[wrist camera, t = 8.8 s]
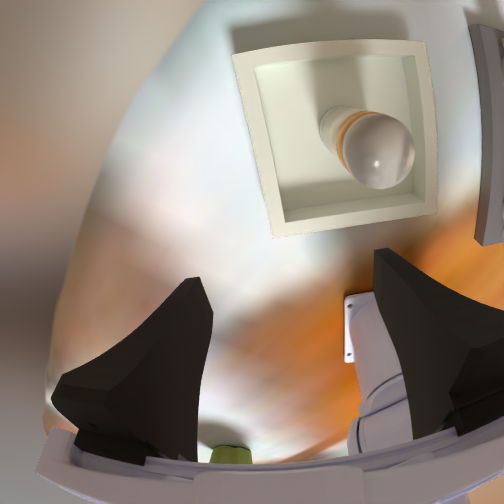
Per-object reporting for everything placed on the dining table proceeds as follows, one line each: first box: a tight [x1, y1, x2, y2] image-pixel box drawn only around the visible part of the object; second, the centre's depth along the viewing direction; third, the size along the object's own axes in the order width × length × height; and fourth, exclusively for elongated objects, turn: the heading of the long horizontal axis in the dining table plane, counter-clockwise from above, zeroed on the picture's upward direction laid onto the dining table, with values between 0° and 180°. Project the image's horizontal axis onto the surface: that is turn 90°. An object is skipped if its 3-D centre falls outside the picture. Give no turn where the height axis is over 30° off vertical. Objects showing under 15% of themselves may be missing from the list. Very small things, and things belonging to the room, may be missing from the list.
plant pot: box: [209, 446, 252, 464], centre depth 42 cm, size 12×12×11 cm
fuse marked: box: [319, 105, 415, 189], centre depth 14 cm, size 4×4×7 cm
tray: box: [231, 39, 438, 239], centre depth 17 cm, size 12×12×3 cm
